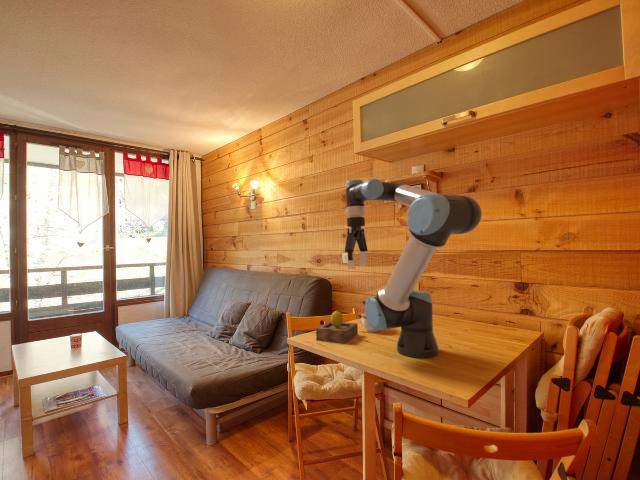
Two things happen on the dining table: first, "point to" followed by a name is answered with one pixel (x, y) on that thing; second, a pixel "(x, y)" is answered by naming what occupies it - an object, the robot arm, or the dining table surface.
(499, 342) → the dining table surface
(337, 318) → the lemon
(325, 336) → the walnut base
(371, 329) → the lidded jar
